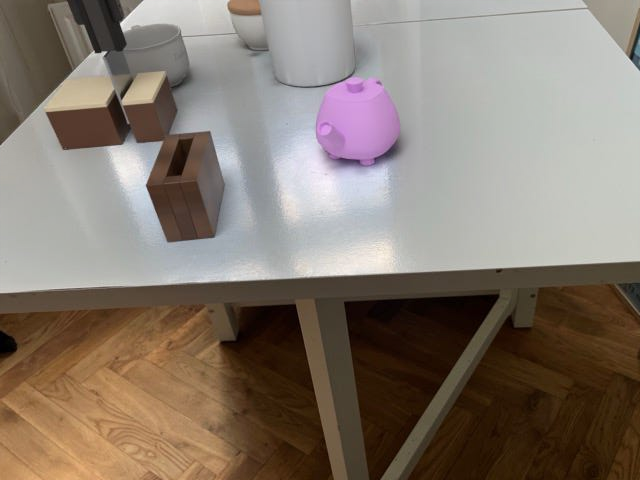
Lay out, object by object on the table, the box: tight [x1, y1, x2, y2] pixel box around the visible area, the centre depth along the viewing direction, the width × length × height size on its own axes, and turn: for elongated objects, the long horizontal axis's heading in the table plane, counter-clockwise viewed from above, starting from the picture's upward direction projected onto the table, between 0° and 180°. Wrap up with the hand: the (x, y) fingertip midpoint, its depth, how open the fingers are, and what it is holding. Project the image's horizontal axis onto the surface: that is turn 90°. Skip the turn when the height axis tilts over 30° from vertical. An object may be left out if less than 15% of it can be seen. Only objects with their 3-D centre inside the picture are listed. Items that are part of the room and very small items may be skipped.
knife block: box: [145, 130, 226, 243], centre depth 61 cm, size 11×5×7 cm, turn 6°
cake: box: [43, 75, 131, 151], centre depth 78 cm, size 8×10×6 cm
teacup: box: [123, 23, 190, 88], centre depth 91 cm, size 14×11×8 cm
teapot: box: [315, 76, 401, 166], centre depth 69 cm, size 10×15×9 cm
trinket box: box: [226, 0, 269, 51], centre depth 102 cm, size 11×11×9 cm
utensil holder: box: [259, 0, 356, 88], centre depth 88 cm, size 15×15×18 cm
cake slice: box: [121, 71, 178, 144], centre depth 79 cm, size 4×10×6 cm, turn 7°
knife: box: [82, 0, 133, 124], centre depth 73 cm, size 7×2×17 cm, turn 6°
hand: (111, 48), depth 73 cm, fingers closed on knife, 2 cm apart
